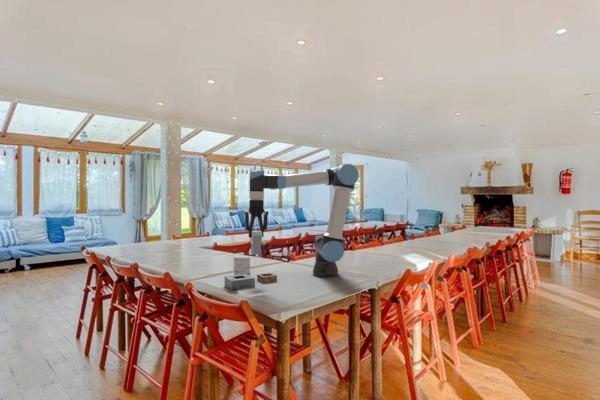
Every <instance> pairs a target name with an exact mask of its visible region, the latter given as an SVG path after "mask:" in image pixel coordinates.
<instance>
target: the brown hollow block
mask: <svg viewBox="0 0 600 400" xmlns="http://www.w3.org/2000/svg"><path fill="white" fill-rule="evenodd" d="M256 280H257V281H259V282H261V284H266V283H272V282H277V281H278V275H277V274H274V273H272V272H265V273H257V274H256Z"/></svg>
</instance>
